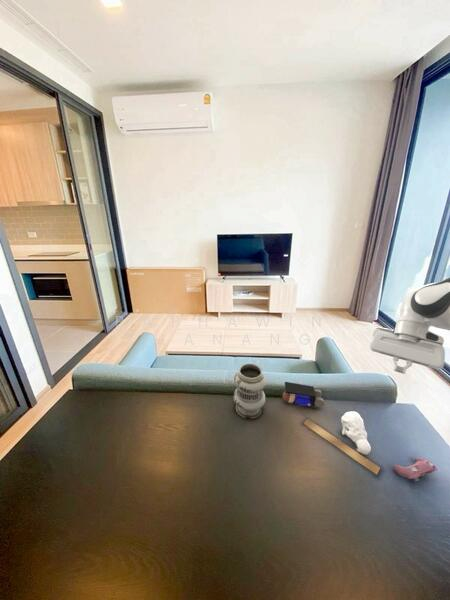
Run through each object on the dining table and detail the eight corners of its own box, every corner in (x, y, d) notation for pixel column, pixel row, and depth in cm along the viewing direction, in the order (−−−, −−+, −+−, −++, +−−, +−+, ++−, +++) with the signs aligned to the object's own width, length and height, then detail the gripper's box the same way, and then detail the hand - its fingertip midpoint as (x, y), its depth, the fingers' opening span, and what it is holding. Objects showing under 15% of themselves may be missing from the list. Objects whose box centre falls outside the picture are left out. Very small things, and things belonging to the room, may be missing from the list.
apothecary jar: (233, 420, 89) (233, 380, 82) (233, 396, 100) (234, 359, 94) (266, 421, 89) (269, 381, 82) (262, 397, 100) (265, 360, 93)
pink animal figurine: (401, 484, 70) (418, 481, 65) (390, 466, 73) (405, 461, 68) (427, 475, 72) (445, 471, 67) (415, 457, 75) (432, 452, 70)
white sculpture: (359, 407, 83) (382, 441, 73) (353, 424, 87) (374, 458, 76) (342, 408, 83) (362, 442, 72) (336, 425, 87) (355, 460, 76)
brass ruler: (380, 468, 73) (380, 467, 73) (376, 475, 71) (376, 474, 71) (307, 419, 90) (307, 419, 89) (303, 424, 88) (303, 423, 88)
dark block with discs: (318, 402, 100) (281, 393, 101) (323, 387, 97) (285, 379, 99) (321, 414, 93) (281, 406, 95) (326, 399, 91) (286, 390, 92)
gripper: (374, 323, 88) (363, 359, 86) (450, 339, 74) (439, 383, 72) (376, 328, 92) (366, 363, 90) (448, 344, 79) (438, 386, 76)
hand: (399, 372), depth 81 cm, fingers closed
